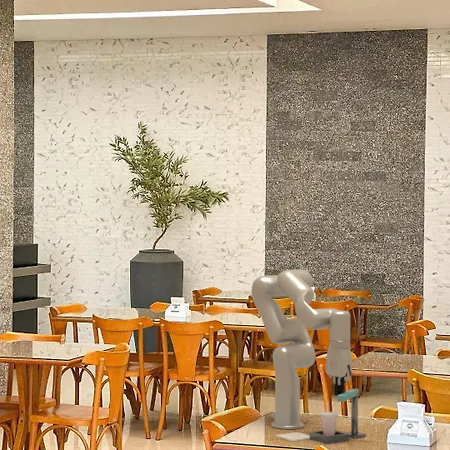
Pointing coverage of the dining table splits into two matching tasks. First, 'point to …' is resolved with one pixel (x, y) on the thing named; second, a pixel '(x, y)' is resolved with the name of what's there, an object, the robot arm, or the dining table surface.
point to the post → (355, 420)
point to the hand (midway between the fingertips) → (339, 395)
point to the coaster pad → (294, 436)
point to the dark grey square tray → (329, 437)
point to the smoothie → (329, 422)
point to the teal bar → (347, 395)
